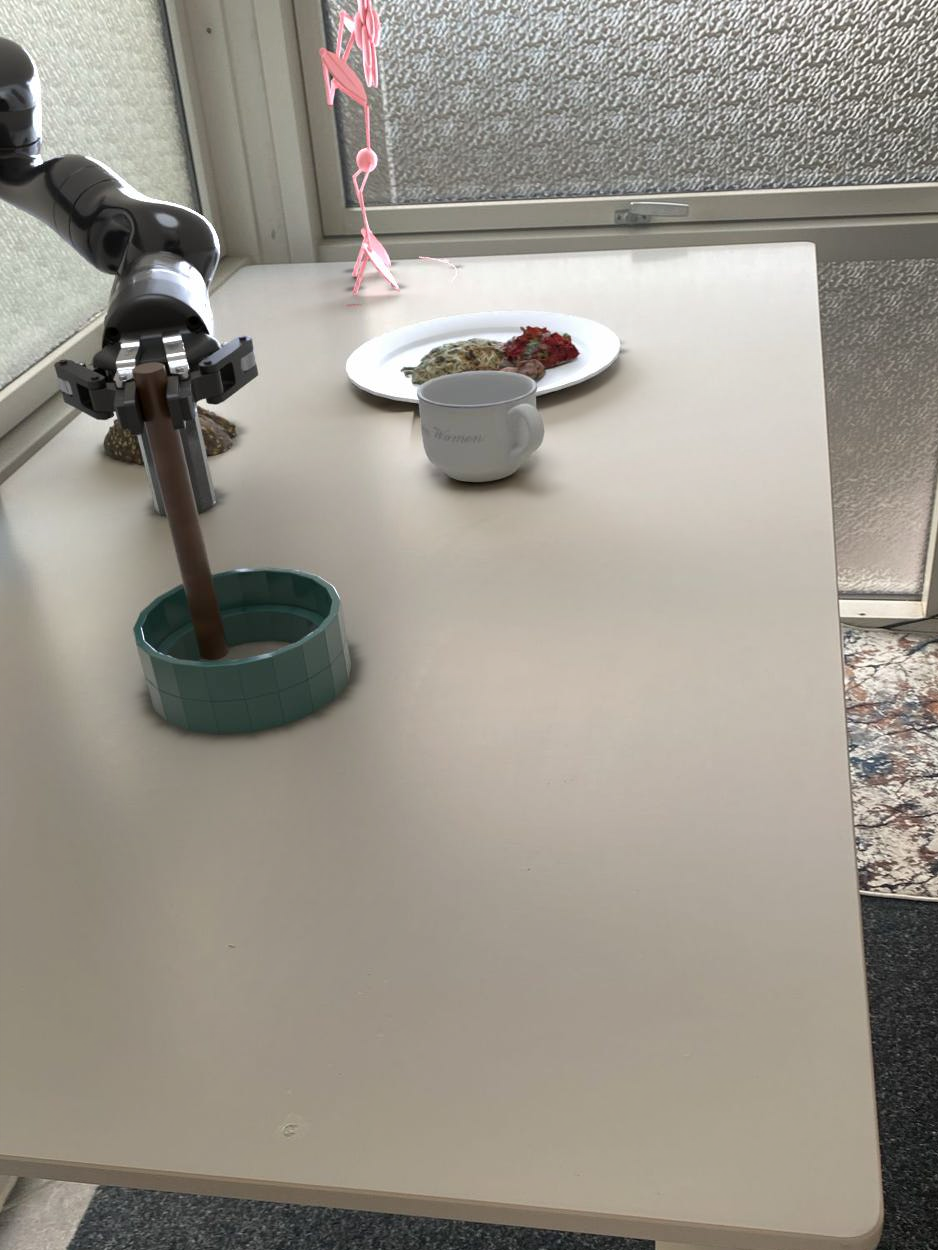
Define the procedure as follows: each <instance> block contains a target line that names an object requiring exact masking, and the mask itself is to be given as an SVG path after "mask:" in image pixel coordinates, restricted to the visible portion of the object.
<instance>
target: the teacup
mask: <svg viewBox="0 0 938 1250" xmlns="http://www.w3.org/2000/svg"><path fill="white" fill-rule="evenodd" d="M536 391H537V384H536V382H535V381H534V380H533V379H531V378H530V377H528V376H525V375H522V374H518V373H513V372H504V371H470V372H462V373H455V374H449V375H443V376H440V377H437V378H434V379H431V380H429V381H427V382H425V383H423V384H422V385H421V386H419V388H418V389H417V397H418V399H419V403H418V409H419V420H420V421H419V422H420V432H421V438H422V445H423V449H424V453H425V456H426V457H427V458H428V460H429V461H430V463H431V464H433V465H434V466H435V468H438V469H439V470H440V471H442V472H443V473H444V474H445V476H447V477H449V478H451V479H454V480H456V481H461V482H467V483H468V482H470V483H483V482H485V483H486V482H493V481H497V480H501V479H505V478H507V477H509V476H511V475H513V474H514V473H515V472H516V471H518V469H519V468H520V467H521V466H522V465H523V464H524V463H526V462H527V461H528V459H530V457H531V455H532V454H533V453H535V452H536V451H537V450H538V449H539V448H540V447H541V445H542V443H543V441H544V437H545V425H544V421H543V418H542V415H541V413H540V411H539V410H538V408H537V397H536Z"/></svg>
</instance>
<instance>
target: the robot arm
mask: <svg viewBox="0 0 938 1250" xmlns="http://www.w3.org/2000/svg"><path fill="white" fill-rule="evenodd" d="M41 100H42V98H41V85H40V78H39V73H38V69H37V66H36V63H35V61H34V59H33V57H32V56H31V54H29V52H28V51H27V50H26V48H25V47H23V46H22V45H21V44H19V43H17V42H15V41H13V40H11V39H9V38H5V37H2V36H0V200H2V201H3V202H5V203H7V204H9V205H10V206H12V207H14V208H16V209H19V210H21V211H22V212H25V213H26V214H28V215H30V216H31V217H33V218H35V219H36V220H38V221H40V222H42V223H43V224H45V225H46V226H47V227H49V229H51V230H52V231H53V232H54V233H56V235H58V236H59V237H60V238H61V239H62V240H63V241H64V242H65V243H67V245H68V246H70V248H72V249H73V251H75V252H76V253H77V254H78V255H79V256H80V257H81V258H82V259H84V260H85V261H86V263H88V264H89V265H90V266H92V267H93V268H95V269H96V270H98V271H99V272H101V273H103V274H106V275H108V276H114V279H113V281H112V285H111V289H110V293H109V298H108V306H107V307H108V308H107V312H106V314H105V316H104V319H103V320H104V322H103V332H102V337H101V338H102V339H101V350H98V351H97V352H95V354H94V355H93V357H92V359H91V364H89V365H86V362H85V361H79V362H76V361H74V360H72V359H60V360H59V361H56V362H55V363H54V369H55V373H56V377H57V382H58V385H59V388H60V391H61V395H62V399H63V402H64V403H65V404H67V405H69V406H71V407H73V408H75V409H77V410H78V411H80V412H82V413H84V414H86V415H88V416H89V417H92V418H93V419H95V420H97V421H109V419H112V418H113V417H116V419H117V420H118V424H119V427H120V428H121V429H122V430H124V429H130V433H131V436H135V435H143V431H144V418H143V413H142V409H141V405H140V401H139V397H138V393H137V388H136V386H135V382H134V378H133V374H132V369H133V368H134V367H136V366H138V365H141V364H145V363H153V362H157V363H162V364H164V366H165V370H166V374H167V379H168V381H167V391H166V396H167V402H168V407H169V411H170V415H171V420H172V424H173V428H174V430H178V429H185V428H186V421H188V420H193V419H194V418H195V417H196V408H197V405H198V404H197V403H198V402H200V401H202V400H205V401H206V404H208V405H220V404H222V403H224V402H225V401H227V400H228V399H229V398H230V397H232V396H233V395H234V394H236V393H237V392H239V391H240V390H241V389H243V388H244V386H247V384H249V383H250V382H251V381H253V380H254V379H255V378H257V377H258V376H259V370H258V364H257V359H256V358H257V357H256V353H255V352H256V351H255V347H254V343H253V337H252V336H251V335H245V334H243V335H239V336H237V337H235V338H233V339H232V340H230V341H229V342H222V343H221V344H220V342H219V341H218V340H217V339H216V337H215V335H216V334H215V333H216V332H215V322H214V321H215V320H214V314H213V311H212V309H211V301H210V300H211V299H210V295H209V289H210V286H211V284H212V281H213V278H214V275H215V273H216V270H217V267H218V264H219V261H220V255H221V245H220V241H219V238H218V234H217V233H216V230H215V229H214V227H213V225H212V224H211V223H210V221H208V220H207V219H206V218H205V217H204V216H203V215H201V214H199V213H198V212H196V211H194V210H192V209H191V208H188V207H185V206H183V205H179V204H177V203H172V202H168V201H163V200H158V199H153V198H150V197H148V196H146V195H144V194H142V193H140V192H138V191H137V190H136V189H135V188H134V187H132V186H131V185H130V184H128V183H127V182H126V181H125V180H124V179H123V178H122V177H120V176H119V175H118V174H117V173H116V172H115V171H113V170H112V169H111V168H110V167H109V166H107V165H106V164H104V163H102V162H101V161H99V160H97V159H94V158H92V157H90V156H86V155H83V154H80V153H79V154H76V153H66V154H60V155H57V156H54V157H51V158H49V159H47V160H44V161H43V160H42V158H41V157H42V156H41V150H42V141H43V136H42V135H43V134H42V104H41V103H42V101H41Z"/></svg>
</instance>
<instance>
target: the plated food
mask: <svg viewBox="0 0 938 1250" xmlns="http://www.w3.org/2000/svg"><path fill="white" fill-rule="evenodd" d="M620 349H621V342H620V340H619V337H618V335H617V334H616V333H615V332H614V331H612V329H610V328H609V327H608V326H605V325H603V324H601V323H599V322H597V321H594V320H591V319H588V318H584V317H581V316H577V315H576V316H575V315H570V314H566V313H560V312H551V311H550V312H548V311H547V312H546V311H540V310H539V311H537V310H495V311H482V312H481V311H480V312H472V313H463V314H457V315H456V314H455V315H449V316H443V317H437V318H433V319H428V320H424V321H423V320H422V321H418V322H415V323H411V324H407V325H405V326H401V327H397V328H395V329H392V330H390V331H387V332H385V333H382V334H380V335H378V336H376V337H374V338H372V339H370V340H368V341H366V342H364V343H363V344H361V345H360V346H359V347H357V348H356V349H355V350H354V351H353V352H352V353H351V354H350V356H349V357H348V359H347V360H346V364H345V365H346V366H345V371H346V372H345V374H346V375H347V377H348V379H349V381H350V382H351V383H352V384H354V386H355V387H357V388H358V389H360V390H362V391H364V392H367V393H368V394H372V395H374V396H377V397H381V398H385V399H390V400H393V401H398V402H407V403H414V404H419V399H418V397H417V389H418V388H419V386H421V385H422V384H423V383H425V382H427V381H429V380H431V379H434V378H437V377H440V376H443V375H449V374H455V373H462V372H470V371H504V372H513V373H518V374H522V375H525V376H528V377H530V378H531V379H533V380H534V381H535V382H536V384H537V391H536V398H537V397H541V396H543V395H546V394H549V393H552V392H557V391H560V390H562V389H565V388H569V387H572V386H574V385H578V384H580V383H583V382H585V381H587V380H589V379H591V378H593V377H595V376H597V375H600V374H601V373H602V372H603V371H605V370H606V369H608V368H610V366H612V364H613V363H614V362H615V361H616V360H617V358H618V357H619V355H620V351H621V350H620Z"/></svg>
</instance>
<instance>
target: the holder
mask: <svg viewBox="0 0 938 1250" xmlns="http://www.w3.org/2000/svg"><path fill="white" fill-rule="evenodd" d="M179 432H180V436H181V441H182V445H183V450H184V454H185V459H186V463H187V467H188V472H189V476H190V481H191V485H192V490H193V494H194V499H195V503H196V507H197V512H198V515H199V514H201V513H204V512H206V511H208V510H210V509H211V508H212V507H213V506H214V505H215V504H216V500H217V497H216V491H215V489H214V488H215V487H214V484H213V483H214V482H213V479H212V474H211V469H210V464H209V460H208V455H207V454H206V450H205V445H204V440H203V436H202V431H201V426H200V422H199V417H198V412H197V409H196V417H195V418H194V419H193V420H188V421H186V428H185V429H179ZM137 436H138V440H139V444H140V449H141V453H142V457H143V461H144V464H143V465H144V469H145V473H146V478H147V481H148V485H149V490H150V494H151V497H152V498H151V499H152V502H153V507H154V509H155V511H156V512H157V514H159V515H160V516H163V517H166V518H167V515H166V511H165V507H164V502H163V498H162V494H161V490H160V486H159V482H158V477H157V473H156V469H155V465H154V461H153V457H152V452H151V448H150V444H149V440H148V436H147V432H146V428H145V423H144V431H143V435H137Z"/></svg>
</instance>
